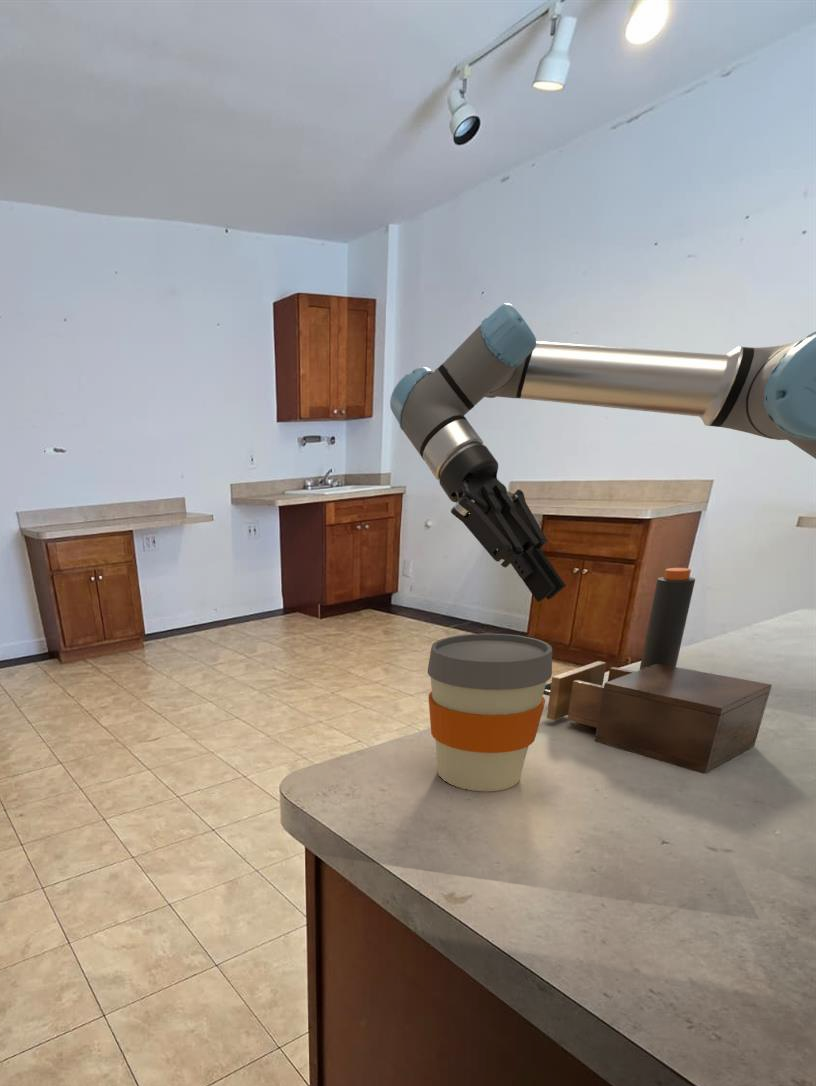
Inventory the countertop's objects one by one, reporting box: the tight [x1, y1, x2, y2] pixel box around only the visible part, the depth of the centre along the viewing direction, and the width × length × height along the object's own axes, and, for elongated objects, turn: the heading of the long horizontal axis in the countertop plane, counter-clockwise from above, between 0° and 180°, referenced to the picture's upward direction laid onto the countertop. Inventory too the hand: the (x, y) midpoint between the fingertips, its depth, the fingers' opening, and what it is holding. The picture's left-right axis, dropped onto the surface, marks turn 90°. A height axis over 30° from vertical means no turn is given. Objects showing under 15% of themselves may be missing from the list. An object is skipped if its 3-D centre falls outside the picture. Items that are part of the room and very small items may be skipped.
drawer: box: [543, 660, 637, 729], centre depth 84 cm, size 15×10×6 cm
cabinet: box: [594, 664, 773, 774], centre depth 76 cm, size 13×12×8 cm
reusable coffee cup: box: [426, 633, 553, 792], centre depth 71 cm, size 13×13×15 cm
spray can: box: [639, 567, 696, 670], centre depth 87 cm, size 5×5×18 cm
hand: (551, 593), depth 85 cm, fingers closed
